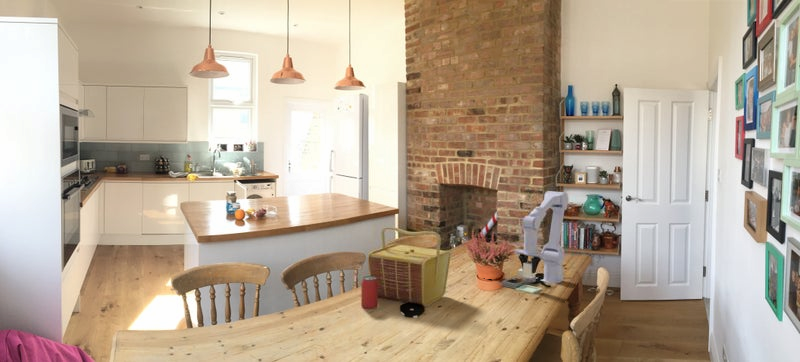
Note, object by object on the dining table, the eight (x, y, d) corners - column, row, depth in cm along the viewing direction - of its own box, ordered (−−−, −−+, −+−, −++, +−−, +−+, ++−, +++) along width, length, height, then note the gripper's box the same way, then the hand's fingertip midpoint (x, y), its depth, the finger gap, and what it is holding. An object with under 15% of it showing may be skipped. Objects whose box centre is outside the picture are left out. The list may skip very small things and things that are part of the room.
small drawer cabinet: (520, 279, 258) (521, 272, 257) (535, 282, 252) (535, 276, 252) (501, 286, 245) (501, 280, 244) (515, 290, 239) (516, 283, 239)
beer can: (375, 309, 210) (375, 280, 209) (359, 308, 212) (359, 279, 210) (379, 304, 217) (379, 276, 216) (363, 303, 218) (363, 275, 217)
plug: (527, 275, 241) (527, 259, 240) (535, 276, 238) (535, 261, 238) (522, 276, 238) (523, 261, 237) (530, 278, 235) (531, 262, 235)
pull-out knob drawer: (521, 281, 255) (522, 266, 254) (529, 282, 252) (529, 268, 251) (517, 282, 252) (518, 268, 251) (524, 284, 249) (525, 269, 248)
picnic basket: (452, 295, 231) (453, 228, 228) (425, 311, 209) (426, 237, 206) (395, 284, 246) (396, 221, 243) (364, 299, 224) (365, 230, 221)
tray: (525, 287, 245) (525, 284, 245) (541, 290, 239) (541, 288, 239) (515, 290, 239) (515, 288, 238) (532, 294, 233) (532, 292, 233)
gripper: (511, 241, 239) (510, 270, 240) (540, 246, 229) (539, 276, 230) (519, 239, 244) (518, 267, 245) (548, 243, 234) (547, 273, 235)
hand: (529, 271), depth 238 cm, fingers closed on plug, 4 cm apart
